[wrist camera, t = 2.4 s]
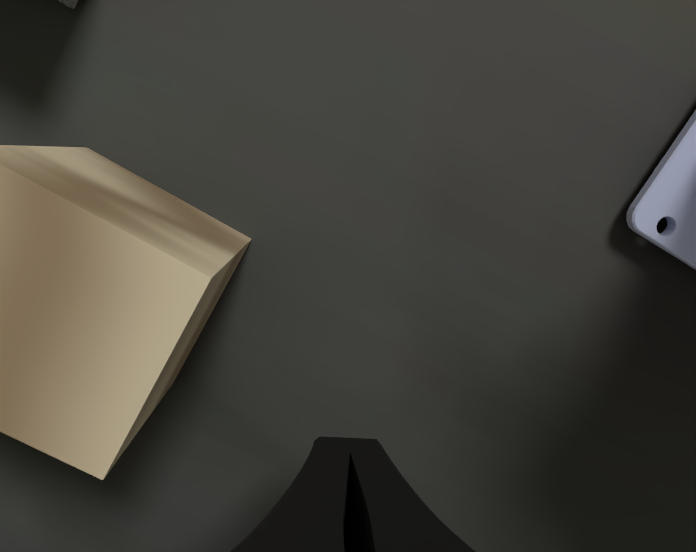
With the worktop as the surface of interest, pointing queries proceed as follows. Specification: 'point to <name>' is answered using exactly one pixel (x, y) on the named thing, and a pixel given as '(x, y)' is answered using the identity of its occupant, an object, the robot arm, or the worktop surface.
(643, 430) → the worktop surface
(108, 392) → the maple block
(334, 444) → the robot arm
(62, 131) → the worktop surface
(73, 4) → the vise jaw
